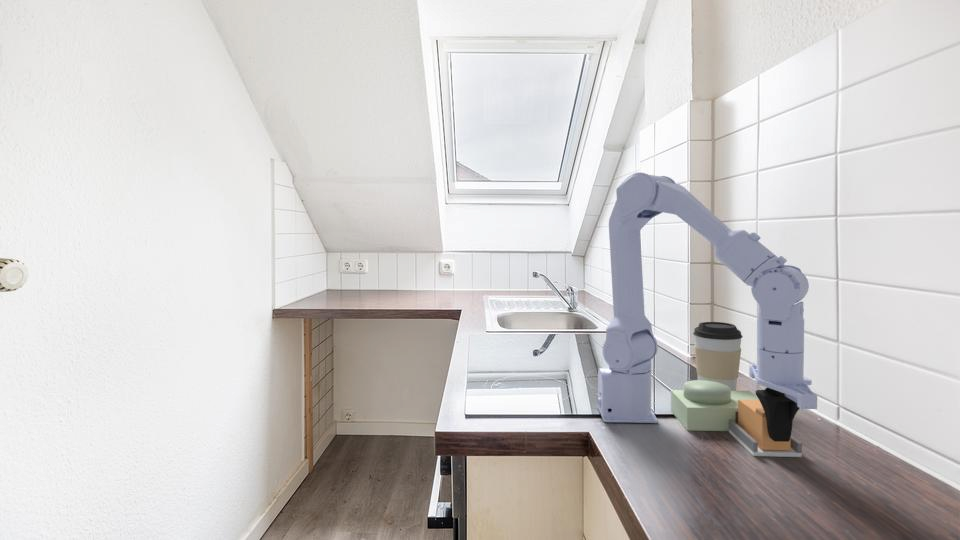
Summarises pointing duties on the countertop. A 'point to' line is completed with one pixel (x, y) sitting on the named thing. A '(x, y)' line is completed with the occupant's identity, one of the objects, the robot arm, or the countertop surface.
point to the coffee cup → (718, 352)
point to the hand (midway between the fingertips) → (779, 439)
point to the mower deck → (720, 414)
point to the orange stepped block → (757, 425)
